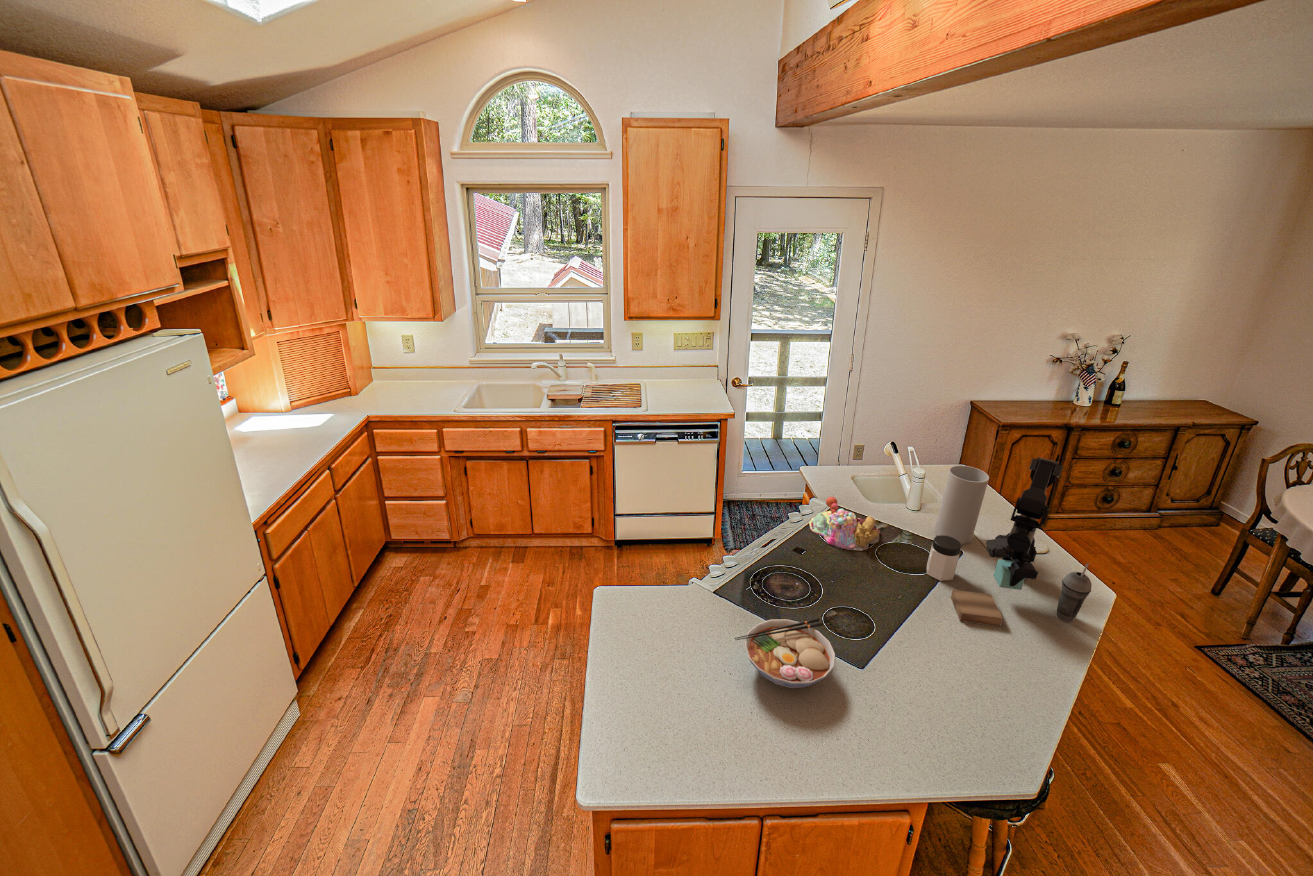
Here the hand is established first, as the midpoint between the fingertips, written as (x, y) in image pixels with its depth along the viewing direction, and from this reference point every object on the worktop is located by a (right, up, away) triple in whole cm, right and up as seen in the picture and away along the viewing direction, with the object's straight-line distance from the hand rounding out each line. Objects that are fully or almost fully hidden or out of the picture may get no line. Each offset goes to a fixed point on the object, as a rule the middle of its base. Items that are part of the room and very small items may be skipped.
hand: (1008, 579), depth 190 cm
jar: (-14, -1, +15) cm, 20 cm away
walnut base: (-11, -9, -3) cm, 15 cm away
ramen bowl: (-72, -18, -27) cm, 79 cm away
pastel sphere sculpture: (-39, +9, +36) cm, 54 cm away
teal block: (0, -1, 0) cm, 1 cm away
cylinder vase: (0, +8, +36) cm, 36 cm away
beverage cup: (+15, -10, -4) cm, 18 cm away
